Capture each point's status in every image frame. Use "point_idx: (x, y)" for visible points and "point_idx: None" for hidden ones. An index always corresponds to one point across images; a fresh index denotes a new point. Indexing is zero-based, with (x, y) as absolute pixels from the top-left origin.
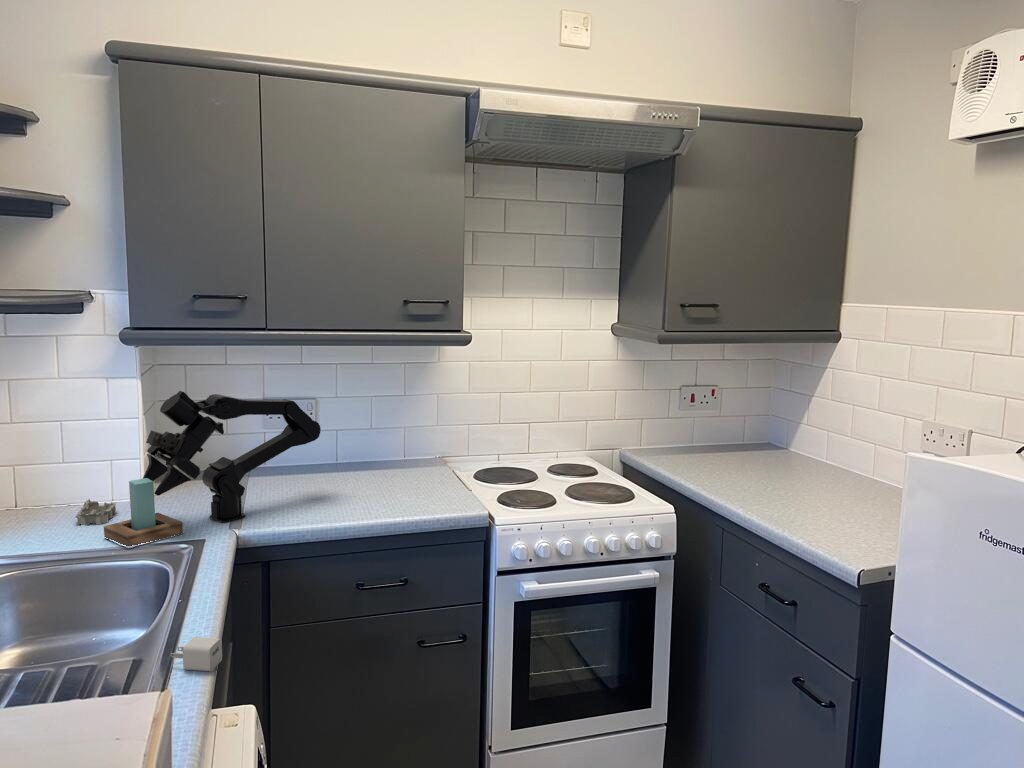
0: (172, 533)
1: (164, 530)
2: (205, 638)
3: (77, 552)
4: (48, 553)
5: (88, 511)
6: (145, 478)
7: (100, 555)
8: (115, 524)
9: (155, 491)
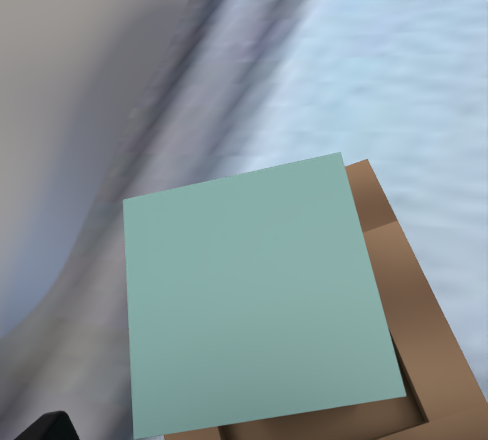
0: None
1: None
2: None
3: (237, 98)
4: (284, 19)
5: None
6: (380, 366)
7: (150, 166)
8: (369, 212)
9: (42, 422)
